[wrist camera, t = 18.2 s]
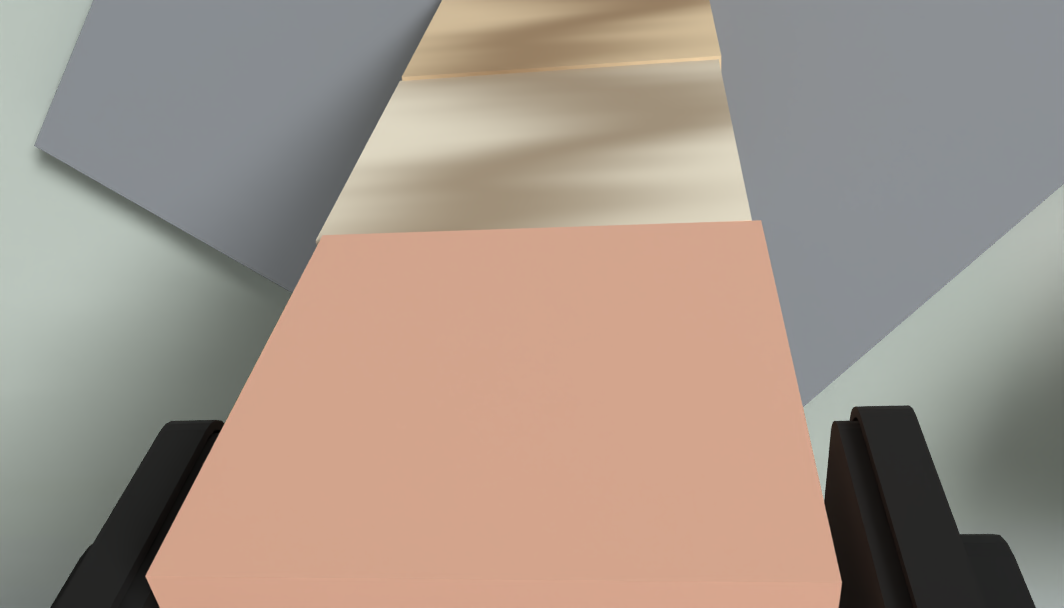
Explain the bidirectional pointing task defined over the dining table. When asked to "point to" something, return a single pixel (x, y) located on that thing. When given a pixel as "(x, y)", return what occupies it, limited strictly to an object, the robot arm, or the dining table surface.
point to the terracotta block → (515, 432)
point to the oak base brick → (561, 36)
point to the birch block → (549, 153)
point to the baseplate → (754, 104)
